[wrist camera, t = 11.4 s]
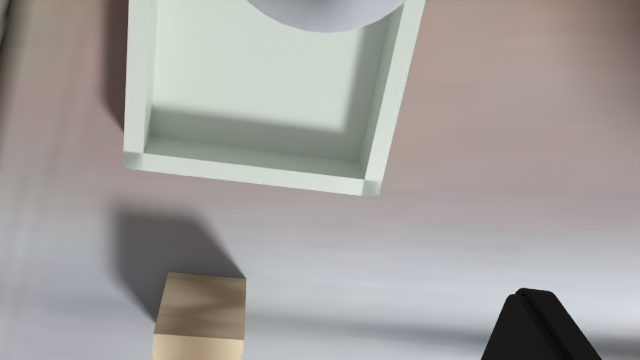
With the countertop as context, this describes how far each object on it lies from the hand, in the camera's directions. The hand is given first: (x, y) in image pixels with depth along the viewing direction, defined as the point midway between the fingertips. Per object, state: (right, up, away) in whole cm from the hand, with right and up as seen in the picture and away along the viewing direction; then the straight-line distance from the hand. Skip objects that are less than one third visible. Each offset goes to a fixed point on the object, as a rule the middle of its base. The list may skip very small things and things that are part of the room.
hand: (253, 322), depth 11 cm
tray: (-1, +13, +21) cm, 24 cm away
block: (-7, -6, +29) cm, 31 cm away
